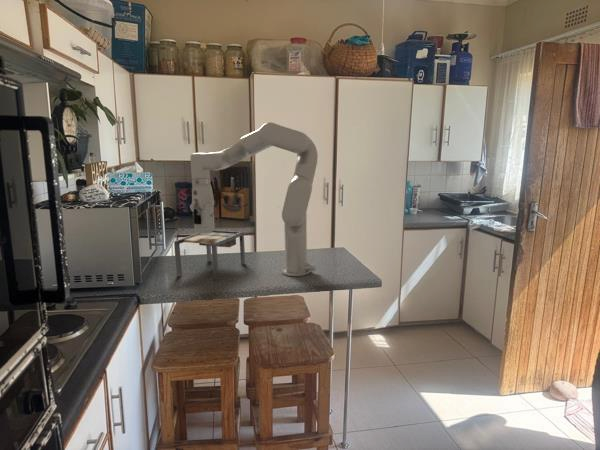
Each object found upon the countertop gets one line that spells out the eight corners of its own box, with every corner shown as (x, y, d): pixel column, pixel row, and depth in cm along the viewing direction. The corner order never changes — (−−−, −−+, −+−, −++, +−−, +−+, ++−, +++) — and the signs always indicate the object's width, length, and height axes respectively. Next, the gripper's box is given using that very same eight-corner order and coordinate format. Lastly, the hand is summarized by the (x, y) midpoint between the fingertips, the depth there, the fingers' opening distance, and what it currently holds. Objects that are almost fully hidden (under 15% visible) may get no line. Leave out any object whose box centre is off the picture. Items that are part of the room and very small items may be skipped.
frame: (245, 264, 187) (243, 231, 184) (216, 280, 164) (214, 244, 161) (209, 260, 194) (206, 229, 191) (177, 276, 171) (173, 241, 168)
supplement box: (211, 233, 168) (209, 204, 166) (194, 233, 168) (191, 204, 166) (215, 229, 175) (213, 201, 173) (199, 230, 176) (196, 202, 173)
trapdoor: (236, 244, 182) (235, 233, 181) (216, 253, 166) (215, 241, 165) (206, 242, 188) (205, 231, 187) (184, 251, 172) (183, 239, 171)
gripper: (196, 184, 158) (199, 226, 162) (219, 180, 174) (222, 219, 178) (181, 184, 161) (184, 225, 164) (205, 180, 177) (207, 218, 180)
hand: (204, 222), depth 171 cm, fingers closed on supplement box, 8 cm apart
